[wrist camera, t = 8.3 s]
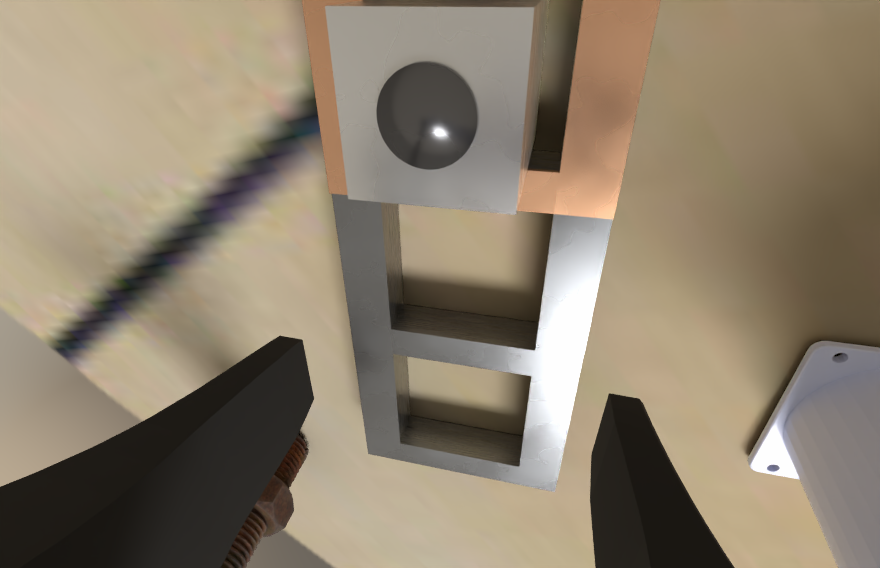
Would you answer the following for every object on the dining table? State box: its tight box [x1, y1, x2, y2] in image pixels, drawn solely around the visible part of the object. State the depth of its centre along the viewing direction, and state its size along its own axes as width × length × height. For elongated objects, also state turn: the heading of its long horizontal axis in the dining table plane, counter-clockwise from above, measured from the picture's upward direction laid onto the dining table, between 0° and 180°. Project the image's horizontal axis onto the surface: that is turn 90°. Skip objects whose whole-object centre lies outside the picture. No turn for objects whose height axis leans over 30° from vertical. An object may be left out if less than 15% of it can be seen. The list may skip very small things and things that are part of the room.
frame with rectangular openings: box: [302, 0, 660, 492], centre depth 20 cm, size 10×26×2 cm, turn 1°
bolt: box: [221, 434, 308, 568], centre depth 26 cm, size 6×5×15 cm
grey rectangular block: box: [325, 0, 549, 215], centre depth 14 cm, size 4×4×7 cm
